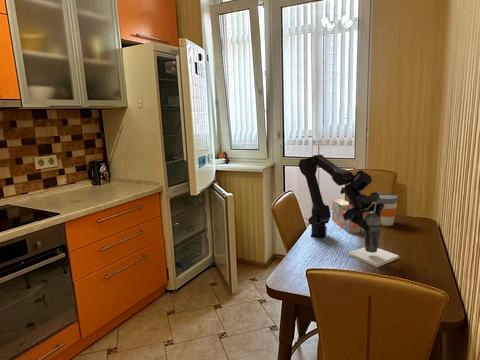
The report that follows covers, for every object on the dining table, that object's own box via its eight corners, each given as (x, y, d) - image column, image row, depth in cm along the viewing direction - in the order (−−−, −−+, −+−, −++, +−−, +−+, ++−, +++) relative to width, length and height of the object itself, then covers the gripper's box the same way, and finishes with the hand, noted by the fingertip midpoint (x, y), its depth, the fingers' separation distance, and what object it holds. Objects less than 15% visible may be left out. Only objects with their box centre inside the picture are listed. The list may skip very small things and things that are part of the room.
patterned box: (360, 232, 173) (361, 209, 170) (348, 233, 172) (349, 209, 170) (342, 220, 194) (342, 198, 191) (331, 220, 193) (332, 199, 190)
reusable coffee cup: (399, 222, 186) (401, 195, 183) (392, 228, 177) (393, 200, 174) (376, 218, 194) (377, 192, 191) (368, 224, 185) (369, 196, 182)
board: (348, 255, 146) (348, 252, 146) (370, 247, 153) (370, 245, 153) (376, 267, 134) (376, 264, 134) (398, 258, 141) (398, 255, 141)
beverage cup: (357, 248, 144) (359, 202, 140) (371, 245, 146) (373, 200, 142) (370, 255, 137) (372, 206, 133) (384, 252, 140) (387, 204, 136)
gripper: (349, 189, 135) (370, 223, 128) (382, 183, 144) (403, 215, 137) (334, 203, 144) (353, 237, 137) (366, 197, 152) (386, 228, 145)
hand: (374, 229), depth 139 cm, fingers closed on beverage cup, 7 cm apart
